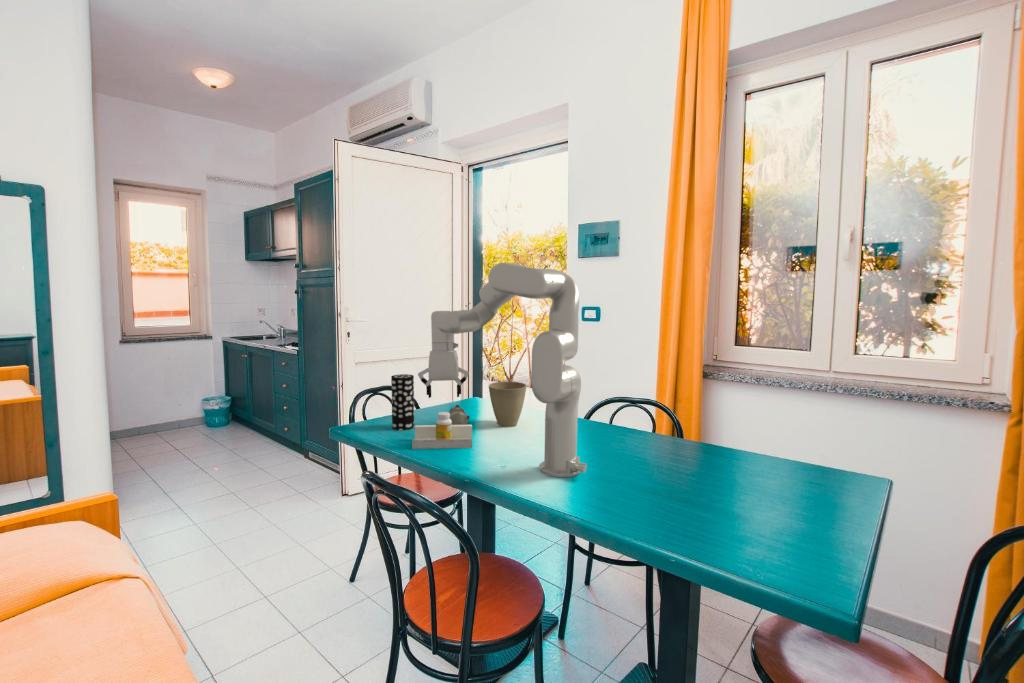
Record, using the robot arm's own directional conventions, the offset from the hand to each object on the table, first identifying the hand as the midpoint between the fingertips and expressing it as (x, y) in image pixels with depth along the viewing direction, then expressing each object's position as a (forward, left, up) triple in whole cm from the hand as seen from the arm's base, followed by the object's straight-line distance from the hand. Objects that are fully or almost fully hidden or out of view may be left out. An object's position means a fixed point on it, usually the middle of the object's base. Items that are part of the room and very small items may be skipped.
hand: (444, 396), depth 173 cm
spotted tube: (+26, -3, -17) cm, 31 cm away
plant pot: (-1, -33, -17) cm, 37 cm away
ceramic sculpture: (+13, -19, -17) cm, 28 cm away
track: (0, 0, -17) cm, 17 cm away
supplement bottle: (0, 0, -16) cm, 16 cm away
